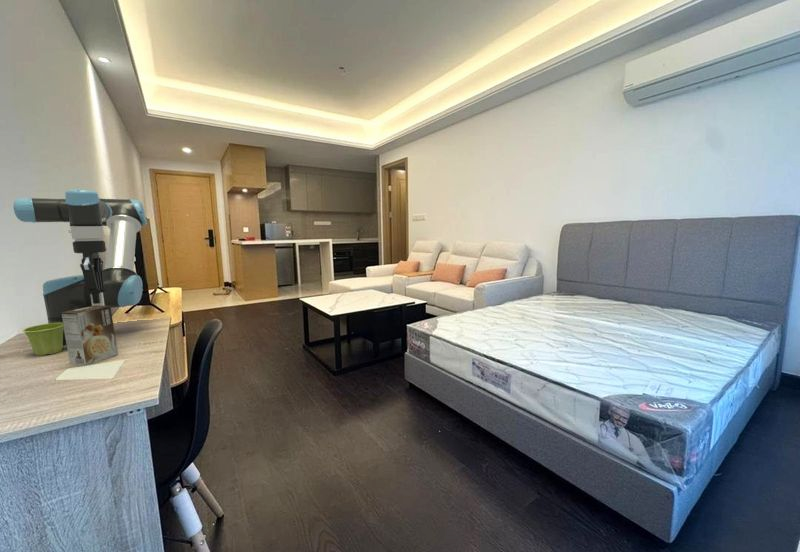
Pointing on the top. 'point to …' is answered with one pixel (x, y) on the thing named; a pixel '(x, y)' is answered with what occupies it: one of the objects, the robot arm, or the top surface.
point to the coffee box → (89, 334)
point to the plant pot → (45, 338)
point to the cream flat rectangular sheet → (92, 371)
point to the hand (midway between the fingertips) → (99, 312)
